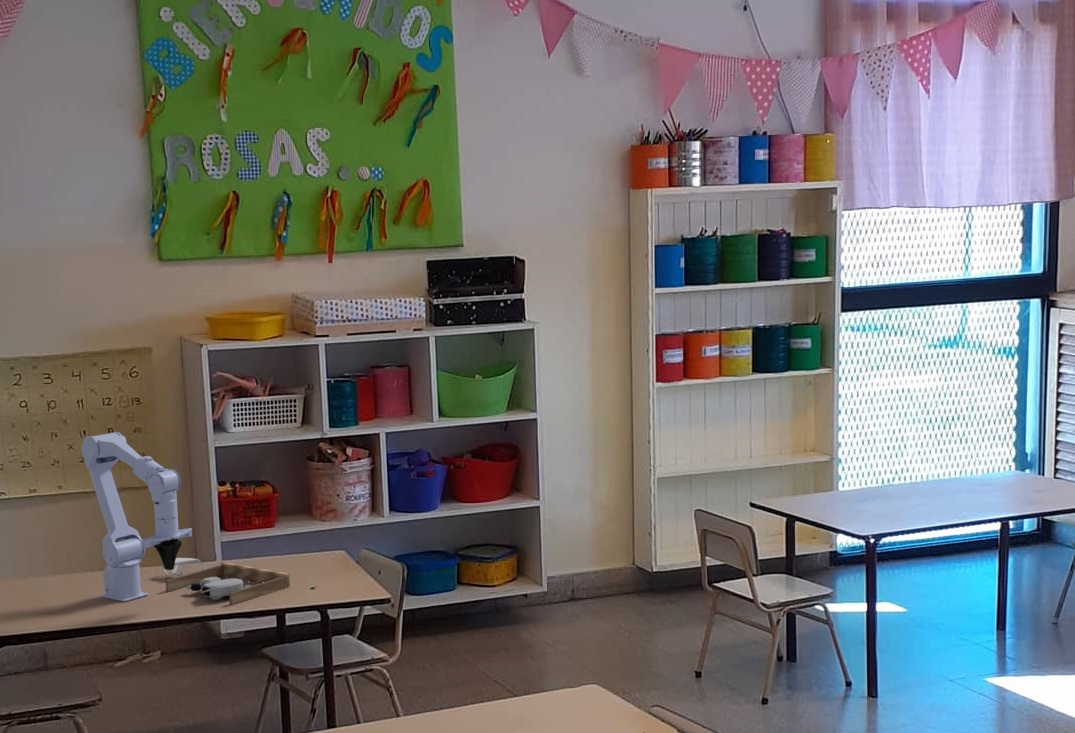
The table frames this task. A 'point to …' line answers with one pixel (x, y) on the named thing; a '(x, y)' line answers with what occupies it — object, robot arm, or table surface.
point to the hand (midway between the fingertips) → (169, 569)
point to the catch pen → (270, 578)
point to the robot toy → (218, 587)
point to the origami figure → (181, 562)
